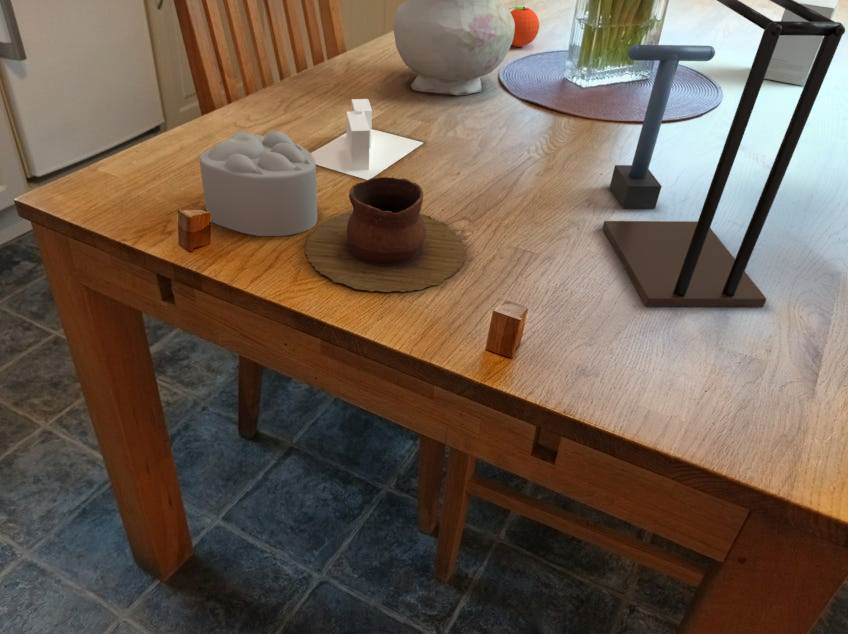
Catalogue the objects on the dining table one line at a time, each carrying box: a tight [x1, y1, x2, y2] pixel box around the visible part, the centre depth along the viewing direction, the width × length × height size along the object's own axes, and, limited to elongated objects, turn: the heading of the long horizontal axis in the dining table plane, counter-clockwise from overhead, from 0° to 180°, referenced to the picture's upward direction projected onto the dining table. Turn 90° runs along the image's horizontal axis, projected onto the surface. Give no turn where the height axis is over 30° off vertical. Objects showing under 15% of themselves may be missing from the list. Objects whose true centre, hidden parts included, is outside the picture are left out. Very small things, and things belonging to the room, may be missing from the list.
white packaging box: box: [764, 0, 839, 86], centre depth 125 cm, size 7×7×13 cm
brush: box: [609, 44, 716, 210], centre depth 85 cm, size 6×10×18 cm, turn 91°
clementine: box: [508, 6, 540, 48], centre depth 139 cm, size 8×7×7 cm
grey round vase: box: [393, 0, 515, 96], centre depth 116 cm, size 22×20×25 cm
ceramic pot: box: [304, 176, 467, 293], centre depth 77 cm, size 18×18×7 cm
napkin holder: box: [310, 98, 424, 181], centre depth 98 cm, size 15×11×6 cm
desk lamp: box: [602, 0, 846, 308], centre depth 70 cm, size 17×12×26 cm
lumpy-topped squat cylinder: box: [199, 130, 318, 237], centre depth 83 cm, size 10×13×9 cm
